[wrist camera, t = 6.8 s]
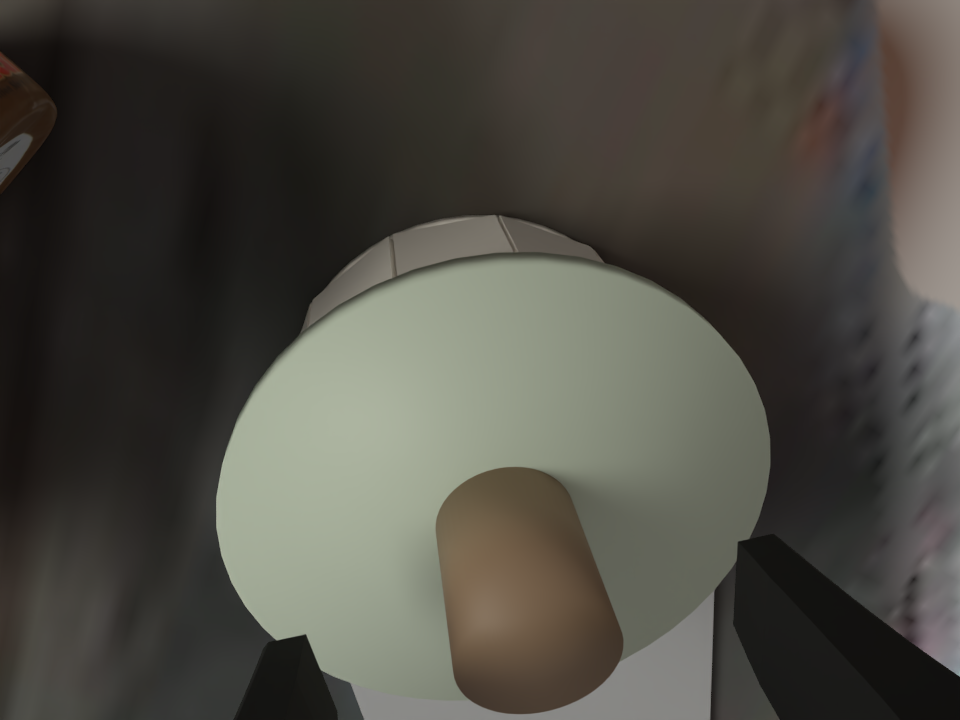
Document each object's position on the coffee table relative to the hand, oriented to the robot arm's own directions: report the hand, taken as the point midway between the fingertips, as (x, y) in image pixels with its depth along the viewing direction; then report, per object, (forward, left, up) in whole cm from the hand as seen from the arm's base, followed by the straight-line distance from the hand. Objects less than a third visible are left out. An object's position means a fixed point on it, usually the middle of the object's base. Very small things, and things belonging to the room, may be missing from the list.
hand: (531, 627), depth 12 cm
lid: (0, 0, -3) cm, 3 cm away
